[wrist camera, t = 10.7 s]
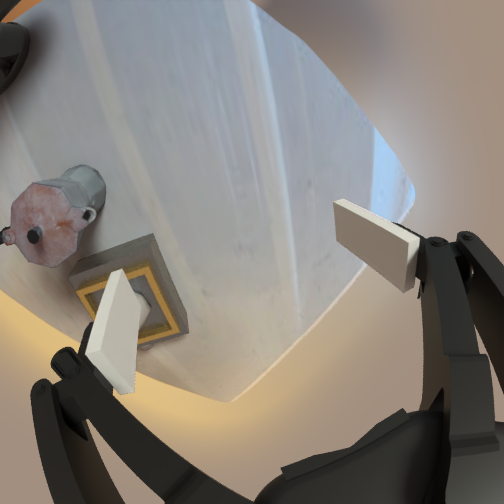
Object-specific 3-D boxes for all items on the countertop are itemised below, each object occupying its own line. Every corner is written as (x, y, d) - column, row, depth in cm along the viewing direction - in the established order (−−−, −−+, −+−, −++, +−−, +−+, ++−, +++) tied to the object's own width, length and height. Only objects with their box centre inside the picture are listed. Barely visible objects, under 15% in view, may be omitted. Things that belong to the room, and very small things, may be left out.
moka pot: (130, 209, 40) (99, 267, 22) (52, 232, 37) (-5, 295, 19) (117, 151, 35) (69, 167, 18) (37, 180, 33) (-35, 217, 15)
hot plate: (78, 260, 40) (65, 282, 34) (153, 233, 42) (149, 251, 36) (124, 341, 49) (121, 367, 43) (190, 321, 51) (194, 347, 45)
